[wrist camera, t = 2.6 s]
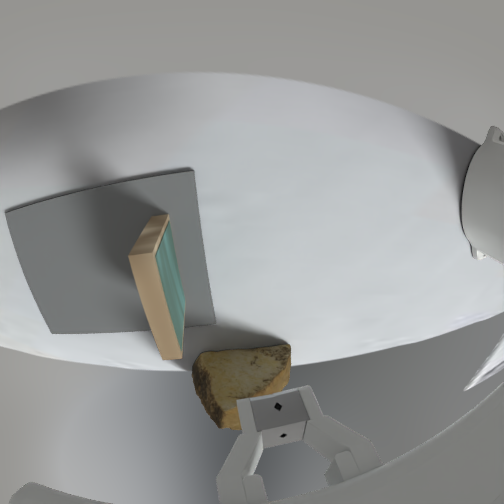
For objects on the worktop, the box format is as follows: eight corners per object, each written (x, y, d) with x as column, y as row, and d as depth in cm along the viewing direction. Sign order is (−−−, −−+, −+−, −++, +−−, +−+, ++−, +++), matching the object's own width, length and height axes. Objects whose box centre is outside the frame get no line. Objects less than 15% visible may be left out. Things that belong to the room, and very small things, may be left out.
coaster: (169, 213, 20) (153, 252, 14) (186, 301, 23) (182, 358, 17) (151, 216, 20) (128, 255, 13) (170, 302, 23) (162, 360, 17)
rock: (319, 339, 25) (226, 328, 21) (319, 422, 21) (222, 432, 17) (261, 352, 34) (187, 343, 30) (260, 415, 30) (183, 414, 25)
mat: (194, 170, 19) (193, 171, 19) (215, 321, 25) (215, 323, 25) (7, 212, 17) (4, 213, 17) (53, 331, 23) (51, 333, 23)
